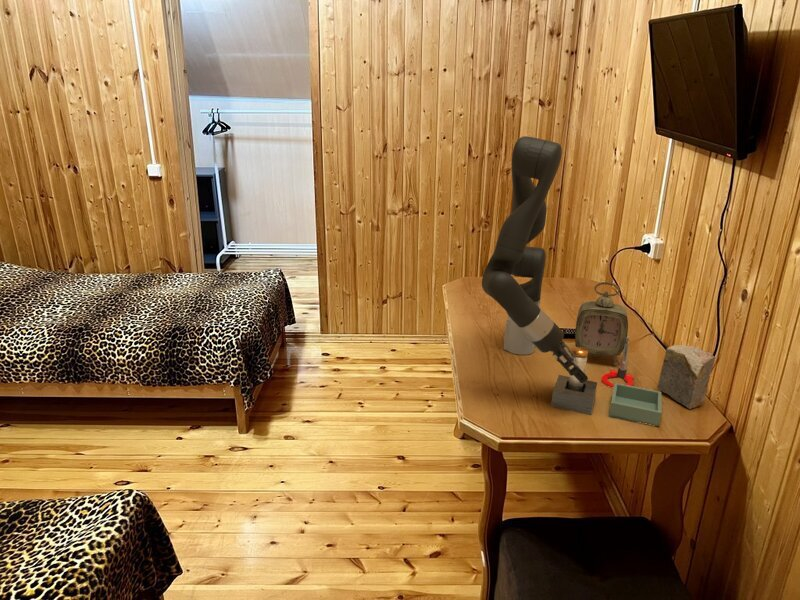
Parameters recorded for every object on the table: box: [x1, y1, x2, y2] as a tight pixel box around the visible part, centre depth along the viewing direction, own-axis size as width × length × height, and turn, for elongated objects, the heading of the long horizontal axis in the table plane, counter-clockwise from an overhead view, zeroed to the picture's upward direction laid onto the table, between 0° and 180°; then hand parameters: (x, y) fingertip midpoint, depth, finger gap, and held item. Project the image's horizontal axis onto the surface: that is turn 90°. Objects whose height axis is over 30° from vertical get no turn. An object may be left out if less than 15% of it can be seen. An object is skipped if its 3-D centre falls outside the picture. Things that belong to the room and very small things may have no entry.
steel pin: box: [568, 346, 589, 392], centre depth 149 cm, size 4×4×15 cm
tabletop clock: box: [574, 281, 629, 367], centre depth 172 cm, size 14×9×25 cm, turn 72°
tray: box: [608, 382, 663, 427], centre depth 147 cm, size 12×12×4 cm
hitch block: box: [550, 374, 598, 416], centre depth 150 cm, size 10×10×4 cm
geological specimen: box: [657, 344, 716, 410], centre depth 151 cm, size 11×6×15 cm, turn 24°
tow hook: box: [601, 336, 635, 388], centre depth 160 cm, size 8×13×9 cm
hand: (580, 372), depth 148 cm, fingers open, 8 cm apart
